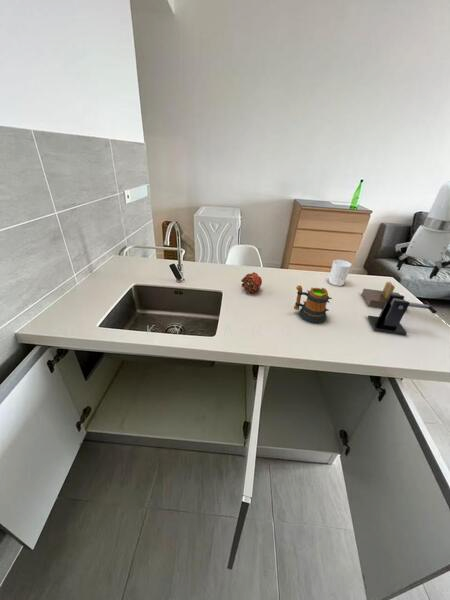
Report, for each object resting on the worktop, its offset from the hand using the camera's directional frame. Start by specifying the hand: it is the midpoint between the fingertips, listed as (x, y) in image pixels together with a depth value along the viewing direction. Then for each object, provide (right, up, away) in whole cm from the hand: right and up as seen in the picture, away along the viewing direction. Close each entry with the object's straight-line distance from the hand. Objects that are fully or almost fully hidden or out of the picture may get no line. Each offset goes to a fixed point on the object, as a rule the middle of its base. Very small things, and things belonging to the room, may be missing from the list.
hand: (414, 273), depth 86 cm
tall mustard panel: (-1, -8, +14) cm, 16 cm away
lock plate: (-2, -11, +15) cm, 19 cm away
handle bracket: (-10, -19, +1) cm, 21 cm away
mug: (-36, -15, +4) cm, 40 cm away
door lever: (-5, -12, -5) cm, 14 cm away
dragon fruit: (-56, -5, +19) cm, 60 cm away
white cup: (-15, -1, +29) cm, 33 cm away
